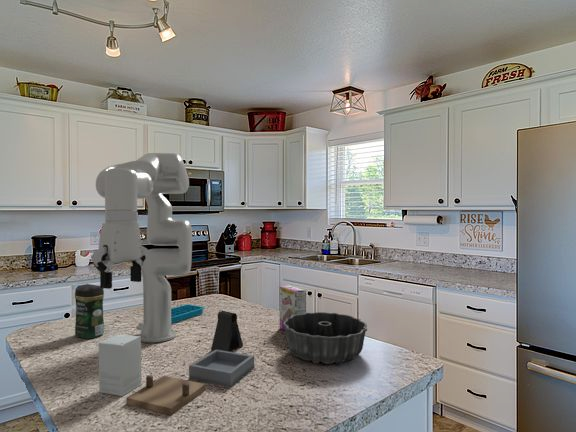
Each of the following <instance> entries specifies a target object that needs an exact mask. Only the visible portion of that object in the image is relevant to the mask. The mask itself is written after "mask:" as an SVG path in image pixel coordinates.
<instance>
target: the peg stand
mask: <svg viewBox="0 0 576 432" xmlns="http://www.w3.org/2000/svg"><path fill="white" fill-rule="evenodd" d="M205 391H206V384H205V383H201V382H197V381H193V380H192V381H191V380H187V379H183V378H177V377H172V376H169V375H163V376H161V377H159V378H158V379H156V380H154V375H152V374H151V375H147V376H146V378H145V386H143V387H142V388H140V389H139V390H137V391H135V392H133V393H131V394H130V395H128V396H126V398H125V399H126V402H125V404H126V405H130V406H134V407H137V408H142V409H145V410H149V411H153V412H156V413H160V414H165V415H169V416H173V415H174V413H177V412H178V411H180V409H181V408H183V407H184V406H185V405H187V404H189V403H190V402H191V401H193V400H194V399H196V398H197V397H198V396H199V395H201V394H203V393H204V392H205Z"/></svg>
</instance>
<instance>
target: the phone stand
mask: <svg viewBox="0 0 576 432" xmlns="http://www.w3.org/2000/svg"><path fill="white" fill-rule="evenodd" d="M243 347H244V343H243V340H242V336H241V331H240V328H239V324H238V315H237V313H235V312H230V311H225V310H221V311H220V310H219V311H218V313H217V323H216V327H215V331H214V335H213V339H212V343H211V348H210V351H211V352H213V351H214V350H222V351H228V352H234V351H236V350H238V349H241V348H243Z"/></svg>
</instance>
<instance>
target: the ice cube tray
mask: <svg viewBox="0 0 576 432" xmlns="http://www.w3.org/2000/svg"><path fill="white" fill-rule="evenodd" d="M204 309H206V307H205V306H201V305H195V304H189V303H187V304H183V305H180V306H176V307H173V308H172V307H171V325H172V324H174V323H175V324H176V323H178V322H181V321H184V320H189V319H190V318H194V317H197V316H200V314H201V315H202V314H203V311H204Z"/></svg>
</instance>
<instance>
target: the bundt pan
mask: <svg viewBox="0 0 576 432" xmlns="http://www.w3.org/2000/svg"><path fill="white" fill-rule="evenodd" d="M283 325H284V327H285V330H284V332H285V338H286V343H287V346H288V348H289V350H290V352H291V353H292V354H293V356H295V357H297V358H300V359H302V360H303V361H307V362H309V361H312V362H313V363H314V364H318V363H320V362H321V363H323V364H326V365H330V364H333V363H336V364H338V365H339V364H343V362H348V361H351V360H353V359H354V358H355V357H357V356H358V355H360V354H361V352H362V351H363V347H364V343H365V336H366V332H368V328H367V327H368V324H367V323H366V322H364V321H362V320H361V319H360V318H357V317H354V316H351V315H348V314H343V313H342V314H340V313H337V312H325V311H320V312H319V311H318V312H306V313H304V314H297V315H293V316H291V317H290V318H286V321H284V323H283Z"/></svg>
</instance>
